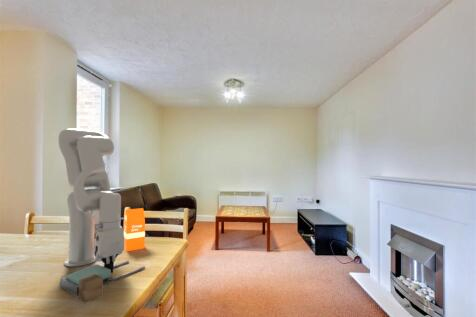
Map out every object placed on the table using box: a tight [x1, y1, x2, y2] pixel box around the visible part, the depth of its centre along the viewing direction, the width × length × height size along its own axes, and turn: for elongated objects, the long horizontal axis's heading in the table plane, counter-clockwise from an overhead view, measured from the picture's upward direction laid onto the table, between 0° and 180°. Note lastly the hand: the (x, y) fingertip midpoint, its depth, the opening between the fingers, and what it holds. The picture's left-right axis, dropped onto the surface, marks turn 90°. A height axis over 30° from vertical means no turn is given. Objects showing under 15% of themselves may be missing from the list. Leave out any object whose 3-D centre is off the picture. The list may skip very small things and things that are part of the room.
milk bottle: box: [91, 210, 99, 245], centre depth 137 cm, size 8×8×20 cm
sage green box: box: [65, 264, 112, 285], centre depth 89 cm, size 9×11×4 cm
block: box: [78, 274, 104, 304], centre depth 80 cm, size 5×5×6 cm
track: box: [59, 260, 146, 297], centre depth 95 cm, size 12×26×3 cm, turn 147°
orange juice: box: [123, 207, 146, 252], centre depth 128 cm, size 8×9×20 cm
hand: (108, 272), depth 96 cm, fingers closed
